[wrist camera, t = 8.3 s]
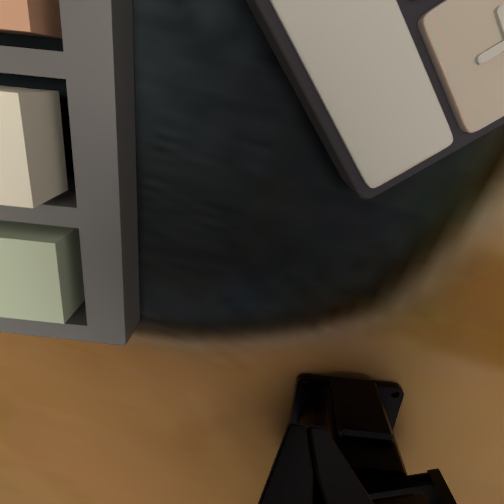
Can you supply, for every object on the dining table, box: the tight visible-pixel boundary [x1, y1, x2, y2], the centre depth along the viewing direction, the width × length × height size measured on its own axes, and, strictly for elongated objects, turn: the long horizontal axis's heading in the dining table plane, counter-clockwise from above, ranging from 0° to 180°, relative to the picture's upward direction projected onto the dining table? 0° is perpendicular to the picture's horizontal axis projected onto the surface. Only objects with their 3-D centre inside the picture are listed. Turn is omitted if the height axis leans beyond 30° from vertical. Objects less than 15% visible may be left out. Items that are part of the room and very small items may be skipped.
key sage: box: [0, 220, 85, 324], centre depth 21 cm, size 4×4×3 cm
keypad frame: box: [0, 0, 140, 346], centre depth 19 cm, size 20×10×2 cm, turn 175°
